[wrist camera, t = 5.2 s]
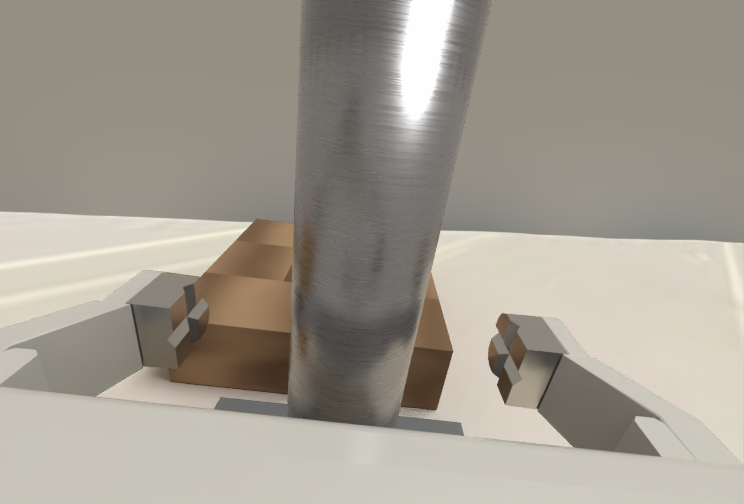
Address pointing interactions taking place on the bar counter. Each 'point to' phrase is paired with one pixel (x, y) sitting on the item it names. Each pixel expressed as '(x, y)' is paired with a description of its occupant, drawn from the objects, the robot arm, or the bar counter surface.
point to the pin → (372, 192)
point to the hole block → (285, 323)
